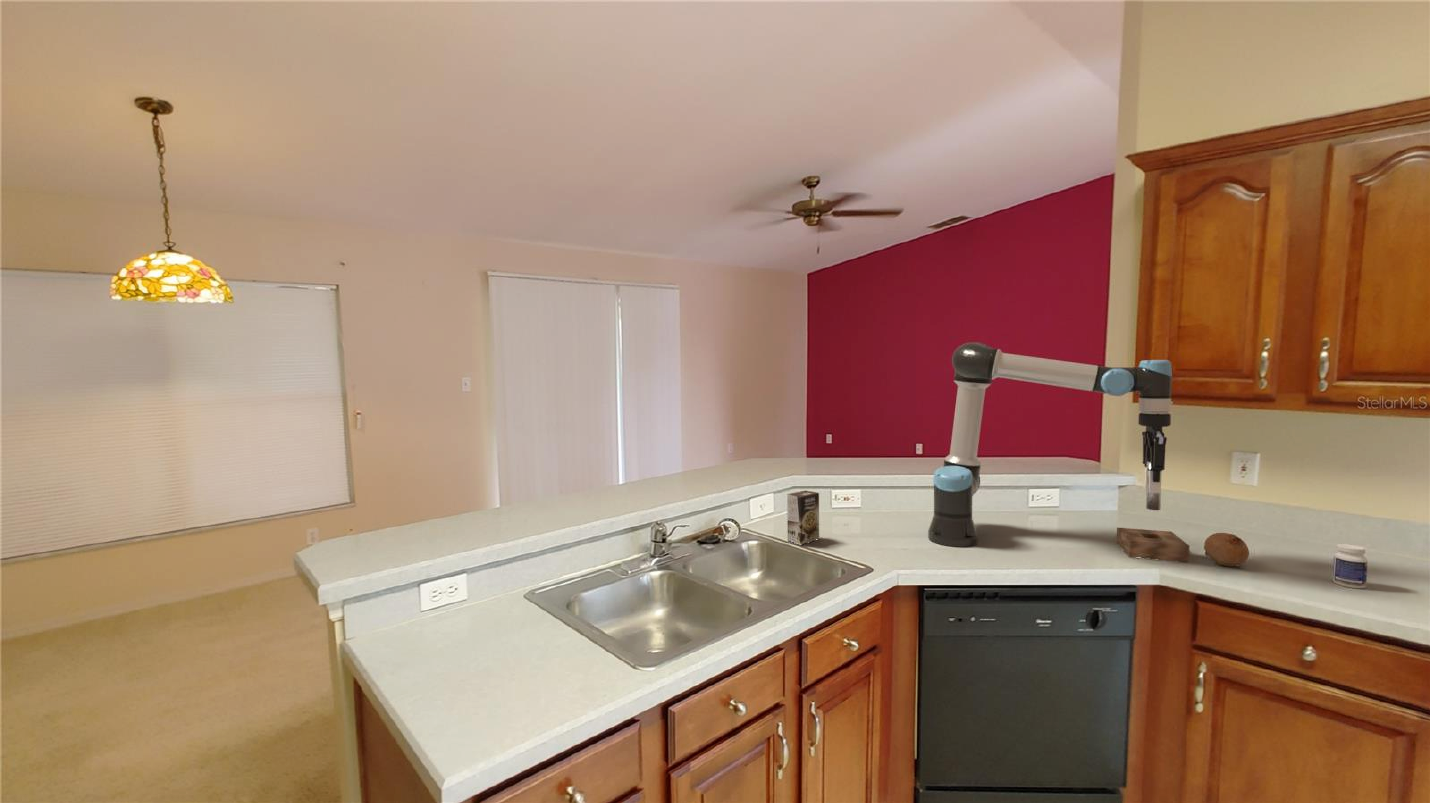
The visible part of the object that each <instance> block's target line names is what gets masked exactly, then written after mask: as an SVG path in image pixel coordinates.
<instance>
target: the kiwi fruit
mask: <svg viewBox="0 0 1430 803" xmlns="http://www.w3.org/2000/svg"><path fill="white" fill-rule="evenodd" d="M1203 550H1204V551H1205V552H1204V554H1205V556H1207V557H1208V558H1209V559H1210V560H1211V561H1212V562H1214V563H1215V564H1217V565H1221V566H1223V567H1224V566H1225V567H1237V566H1238V567H1239V566H1241V565H1242V564H1244V563H1245V562H1246V561H1247V560H1248V558H1249V556H1250V550H1249V548H1248V545H1247V544H1246V542H1245V541H1244V540H1243V539H1242V538H1240V537H1239V536H1237V535H1235V534H1233V533H1228V532H1227V533H1226V532H1216V533H1213V534H1210V535H1209V536H1208V537H1207V538H1206V539H1205V540H1204V544H1203Z"/></svg>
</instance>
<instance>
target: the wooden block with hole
mask: <svg viewBox="0 0 1430 803" xmlns="http://www.w3.org/2000/svg"><path fill="white" fill-rule="evenodd" d="M1116 544H1117V545H1118V546H1119V547H1120V548H1122V549H1123V550H1124V551H1123V550H1122V551H1123V552H1124V553H1125V554H1126V556H1128V558H1130V557H1141V558H1150V559H1149V560H1151V559H1158V560H1157V561H1162V560H1166V561H1165V562H1173V561H1178V562H1177V563H1184V562H1187V564H1188V563H1189V561H1190V560H1189V559H1190V544H1188V543H1187V542H1186V541H1184V540H1183V539H1182V538H1180V537H1179V536H1177V534H1176V533H1174V532H1173V531H1170V530H1167V531H1166V530H1154V529H1153V530H1152V529H1143V528H1142V529H1141V528H1131V527H1129V528H1127V527H1116Z"/></svg>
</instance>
